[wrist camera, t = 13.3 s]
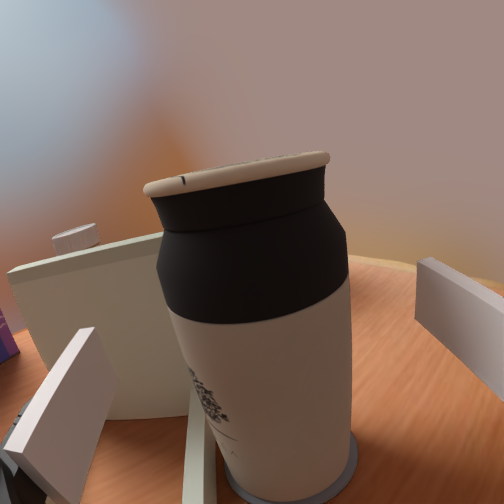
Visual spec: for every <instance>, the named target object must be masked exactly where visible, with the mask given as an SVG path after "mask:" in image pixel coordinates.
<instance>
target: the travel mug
mask: <svg viewBox="0 0 504 504" xmlns="http://www.w3.org/2000/svg"><path fill="white" fill-rule="evenodd" d="M329 161H330V156H329V154H328V153H327V152H325V151H318V152H309V153H300V154H292V155H286V156H279V157H272V158H266V159H259V160H253V161H247V162H242V163H236V164H231V165H225V166H220V167H215V168H210V169H205V170H201V171H196V172H192V173H187V174H183V175H178V176H174V177H170V178H166V179H162V180H158V181H154V182H151V183H148V184H146V185H145V186H144V189H143V191H144V194H145V195H146V196H147V197H150V198H151V200H152V202H153V203H154V205H155V207H156V209H157V212H158V215H159V218H160V220H161V223H162V225H163V228H165V229H164V233H163V237H162V241H161V246H160V250H159V255H158V259H157V264H156V270H157V273H158V277H159V281H160V284H161V287H162V291H163V294H164V298H165V301H166V304H167V307H168V311H169V314H170V317H171V320H172V323H173V326H174V329H175V333H176V336H177V339H178V342H179V344H180V347H181V350H182V353H183V356H184V359H185V362H186V365H187V367H188V370H189V373H190V376H191V378H192V381H193V384H194V386H195V389H196V392H197V394H198V397H199V399H200V402H201V405H202V407H203V410H204V412H205V415H206V417H207V419H208V422H209V424H210V427H211V429H212V432H213V434H214V436H215V439H216V441H217V443H218V446H219V448H220V450H221V452H222V455H223V457H224V459H225V461H226V463H227V466H228V468H229V470H230V472H231V474H232V476H233V478H234V480H235V481H236V482H237V484H238V485H239V486H240V487H241V488H243V489H244V490H245V491H247V492H248V493H250V494H252V495H254V496H256V497H259V498H261V499H265V500H270V501H278V502H288V501H296V500H301V499H305V498H308V497H311V496H313V495H316V494H318V493H320V492H321V491H323V490H325V489H326V488H328V487H329V486H330V485H331V484H333V483H334V482H335V481H336V480H337V479H338V478H339V476H340V475H341V474H342V472H343V470H344V469H345V467H346V464H347V461H348V457H349V446H350V429H351V403H352V329H351V302H350V284H349V269H348V255H347V244H346V234H345V231H344V229H343V227H342V226H341V225H340V223H339V222H338V220H337V218H336V217H335V215H334V214H333V212H332V211H331V209H330V208H329V206H328V205H327V203H326V202H325V201H324V175H325V166H326V164H328V163H329Z"/></svg>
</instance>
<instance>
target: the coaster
mask: <svg viewBox="0 0 504 504" xmlns="http://www.w3.org/2000/svg"><path fill="white" fill-rule="evenodd" d="M357 461H358V446H357V443H356V439H355V437H354V435H353V434H352V432H351V431H350V446H349V457H348V461H347V464H346V467H345V469H344V470H343V472H342V474H341V475H340V476H339V478H338V479H337V480H336V481H335V482H334V483H333V484H331V485H330V486H329V487H328V488H326V489H325V490H323V491H321V492H320V493H318V494H316V495H313V496H311V497H308V498H305V499H301V500H296V501H288V502H278V501H270V500H265V499H261V498H259V497H256V496H254V495H252V494H250V493H248V492H247V491H245V490H244V489H243V488H241V487H240V486H239V485H238V484H237V482H236V481H235V480H234V478H233V476H232V474H231V472H230V470H229V468H228V466H227V463H226V461H225V459H224V469H225V474H226V477H227V479H228V481H229V484H230V485H231V487H232V489H233V490H234V491H235V493H236V494H237V495H238V496H239V497H240V498H242V499H243V500H244V501H246V502H247V503H249V504H324V503H326V502H328V501H329V500H331V499H332V498H334V497H335V496H337V495H338V494H339V493H340V492H341V491H342V490H343V489H344V488H345V487H346V486H347V484H348V483H349V482H350V480H351V478H352V477H353V474H354V472H355V470H356V466H357Z"/></svg>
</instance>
